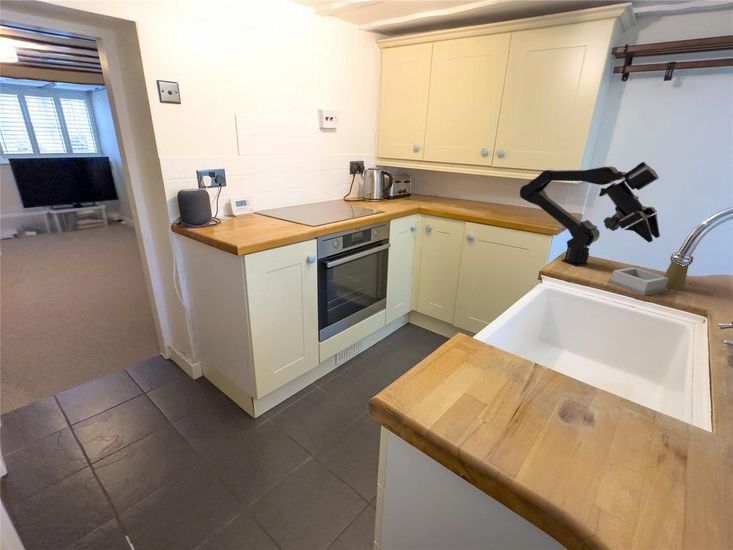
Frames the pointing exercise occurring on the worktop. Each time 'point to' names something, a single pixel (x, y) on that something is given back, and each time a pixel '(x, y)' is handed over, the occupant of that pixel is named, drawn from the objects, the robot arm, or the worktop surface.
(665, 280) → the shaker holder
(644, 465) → the worktop surface
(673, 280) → the cork
